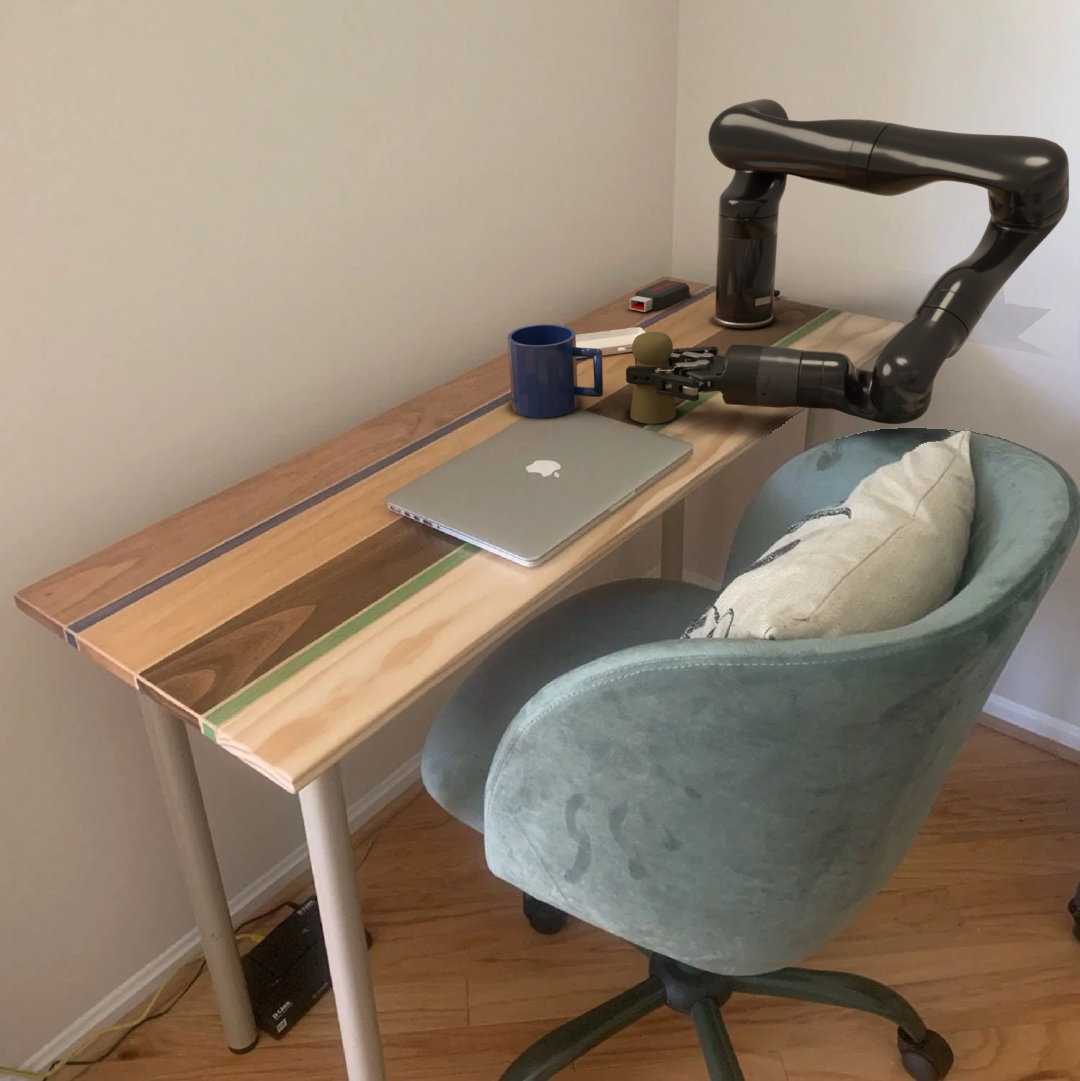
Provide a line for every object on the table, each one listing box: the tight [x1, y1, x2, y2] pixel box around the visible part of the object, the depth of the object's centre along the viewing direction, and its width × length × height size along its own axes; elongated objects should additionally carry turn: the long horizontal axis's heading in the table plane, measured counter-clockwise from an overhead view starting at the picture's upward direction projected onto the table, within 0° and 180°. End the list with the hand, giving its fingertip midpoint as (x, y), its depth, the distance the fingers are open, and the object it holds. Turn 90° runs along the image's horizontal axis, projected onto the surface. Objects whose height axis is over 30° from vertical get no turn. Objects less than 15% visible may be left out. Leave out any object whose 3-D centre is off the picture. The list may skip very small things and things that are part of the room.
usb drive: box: [629, 279, 690, 313], centre depth 179 cm, size 5×12×3 cm, turn 139°
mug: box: [507, 323, 604, 419], centre depth 139 cm, size 13×9×10 cm
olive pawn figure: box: [629, 331, 677, 425], centre depth 135 cm, size 6×6×11 cm
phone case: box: [576, 326, 647, 360], centre depth 161 cm, size 7×1×15 cm
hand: (632, 368), depth 135 cm, fingers closed on olive pawn figure, 4 cm apart
